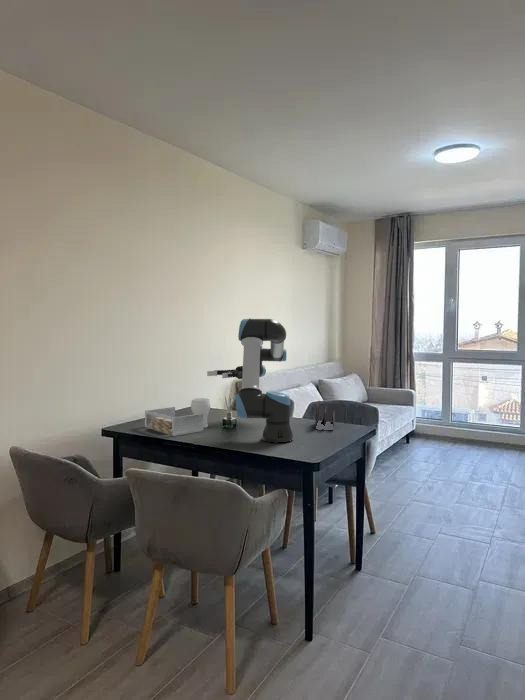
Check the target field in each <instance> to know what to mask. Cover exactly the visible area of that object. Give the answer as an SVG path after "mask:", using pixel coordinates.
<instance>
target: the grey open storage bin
mask: <svg viewBox="0 0 525 700" xmlns="http://www.w3.org/2000/svg"><path fill="white" fill-rule="evenodd" d="M154 417H162V418H166V419H169V420H172V434H170V433H166V432H163V431H160V430H157V429H153V428H152V421H154ZM144 428H146V429H150V430H153V431H156V432H160V433H163V434H165V435H169V436H173V437H176V436H181V435H187V434H193V433H200V432H204V427H203V414H195V415H194V414H190V415H189V414H188V415H183V416H176V407H175V406H172V407H163V408H155V409H149V410H148V409H147V410H144Z"/></svg>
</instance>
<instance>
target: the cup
mask: <svg viewBox="0 0 525 700" xmlns="http://www.w3.org/2000/svg"><path fill="white" fill-rule="evenodd" d="M190 409H191V412H192V415H195V414H203V429H204V428H208V427H209V425H208V415H209V414H210V410H211V400H210V398H208V397H207V398H206V397H204V398H203V397H197V398H192V399H191V402H190Z"/></svg>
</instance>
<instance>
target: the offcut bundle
mask: <svg viewBox="0 0 525 700" xmlns="http://www.w3.org/2000/svg"><path fill="white" fill-rule="evenodd" d="M152 428H153V429H157V430H160V431H163V432H166V433H170V434H172V420H169V419H166V418H162V417H154V421H152ZM153 429H152V430H153Z"/></svg>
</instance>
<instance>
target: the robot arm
mask: <svg viewBox="0 0 525 700" xmlns="http://www.w3.org/2000/svg"><path fill="white" fill-rule="evenodd" d="M237 335H238V336H237V337H238V341H240V344H241V345H242V346H243V353H242V354H243V355H242V365H238V366H236V368H235V369H221V370H219V369H217V370H216V369H215V370H207V371H206V372H207V373H206V374H207V375H206V376H207V377H214V376H215V377H217V376H222V379H229V378H231V379H232V378H237V379H238V380H241V388H240V389H239V390H238V393H237V394H234V395H235V407H236V414H237V417H239V418H240V419H265V426H264V429H263V431H262V432H263V433H262V436H261V439H262V441H263V440H264V441H263V442H265V441H267V442H266V443H270V442H274V443H273V444H279V443H278V442H287V441H290V440H292V439H293V440H294V434H293V431H292V428H291V425H290V422H291V419H290V418H291V416H290V415H291V412H290V411H291V409H290V408H291V398H290V395H288V394H287V393H284V392H280V391H279V392H278V391H266V393H265V394H263V391H262V390H261V388H260V378H262V377H264V376H266V374H267V369H266V366H265V365H263V362H279V363H280V362H286V361H287V349H285V340H286V339H287V331H286V329H285V327H284V325H282V324H281V323H280V322H278V320H275V319H271V318H243V319H241V321H240V323H239V327H238V334H237ZM264 342H270V348H263V344H264ZM287 443H288V442H287Z"/></svg>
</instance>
